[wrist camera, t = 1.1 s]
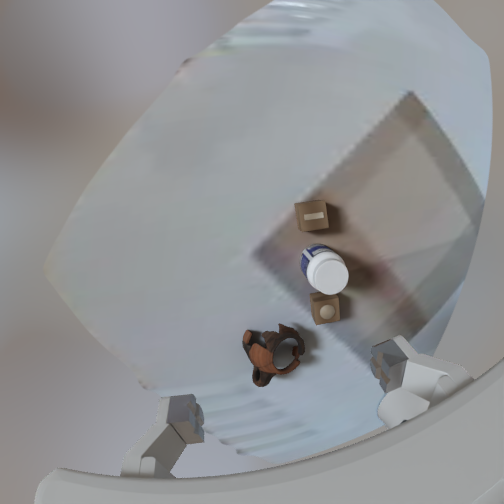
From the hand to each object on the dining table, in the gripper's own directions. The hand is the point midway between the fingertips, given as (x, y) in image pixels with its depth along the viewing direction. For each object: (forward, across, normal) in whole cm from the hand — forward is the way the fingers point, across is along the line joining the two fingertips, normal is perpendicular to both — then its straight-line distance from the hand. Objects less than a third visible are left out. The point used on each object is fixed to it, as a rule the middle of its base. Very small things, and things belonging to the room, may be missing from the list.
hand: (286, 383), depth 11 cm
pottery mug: (+31, 0, -24) cm, 39 cm away
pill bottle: (+32, +11, -10) cm, 35 cm away
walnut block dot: (+31, +10, -17) cm, 37 cm away
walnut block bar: (+33, +11, -2) cm, 35 cm away
